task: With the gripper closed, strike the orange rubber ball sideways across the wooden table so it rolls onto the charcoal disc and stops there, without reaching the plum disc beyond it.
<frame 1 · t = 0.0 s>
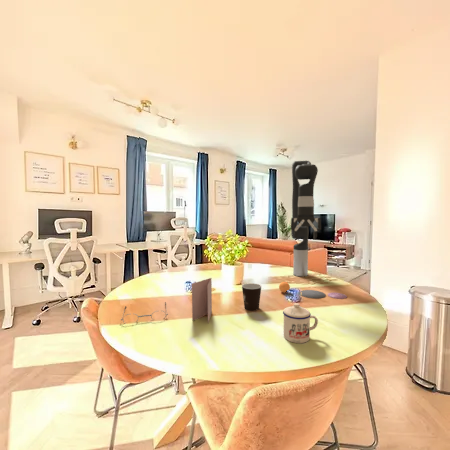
hand: (305, 238, 128), 29 cm above the table, tool pointing down, fingers open, 8 cm apart
ball: (284, 287, 137), on the table
coffee mug: (252, 307, 117), on the table
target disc: (312, 294, 134), on the table
greeting card: (207, 318, 105), on the table
teacup with lid: (300, 337, 89), on the table
eyeglasses: (145, 314, 112), on the table
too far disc: (337, 295, 131), on the table
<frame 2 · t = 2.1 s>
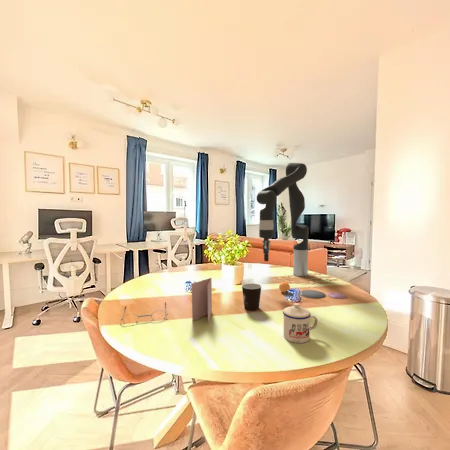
hand: (266, 260, 138), 16 cm above the table, tool pointing down, fingers closed
nothing on the table moved.
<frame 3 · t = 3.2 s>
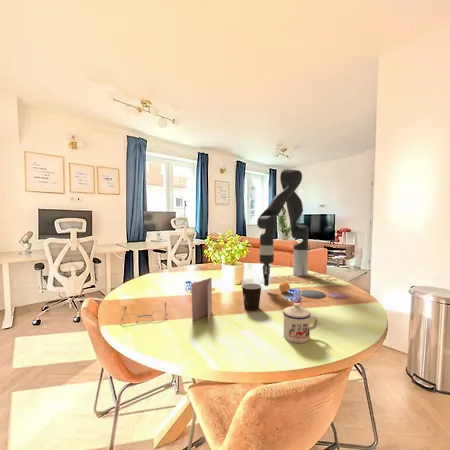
hand: (266, 285, 139), 3 cm above the table, tool pointing down, fingers closed
nothing on the table moved.
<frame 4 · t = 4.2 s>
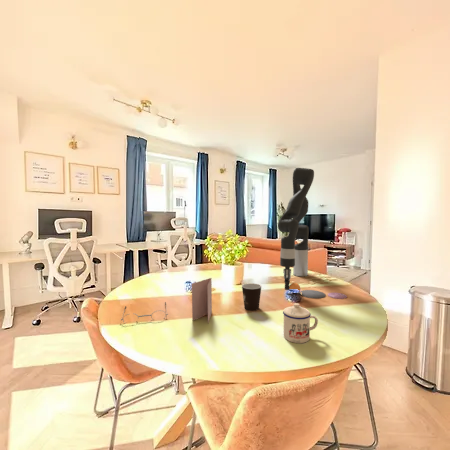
hand: (287, 289, 136), 2 cm above the table, tool pointing down, fingers closed
ball: (294, 288, 135), on the table, touching gripper
everything else where it was.
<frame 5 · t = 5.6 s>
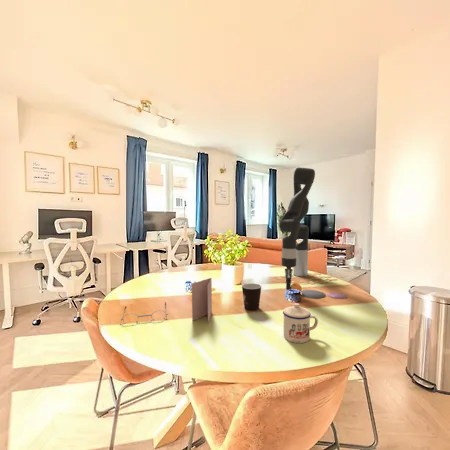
hand: (288, 289, 136), 2 cm above the table, tool pointing down, fingers closed
nothing on the table moved.
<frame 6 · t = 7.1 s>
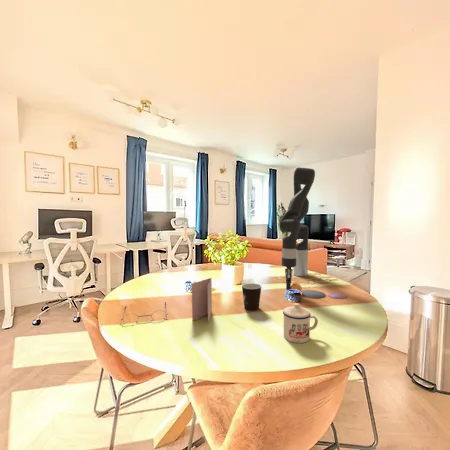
hand: (288, 289, 136), 2 cm above the table, tool pointing down, fingers closed
nothing on the table moved.
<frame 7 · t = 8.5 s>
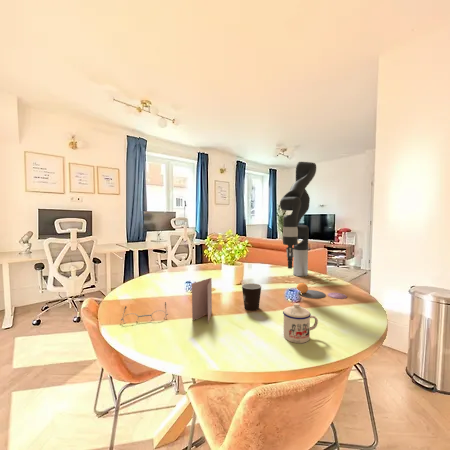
hand: (290, 268, 136), 13 cm above the table, tool pointing down, fingers closed
ball: (302, 288, 135), on the table
everything else where it was.
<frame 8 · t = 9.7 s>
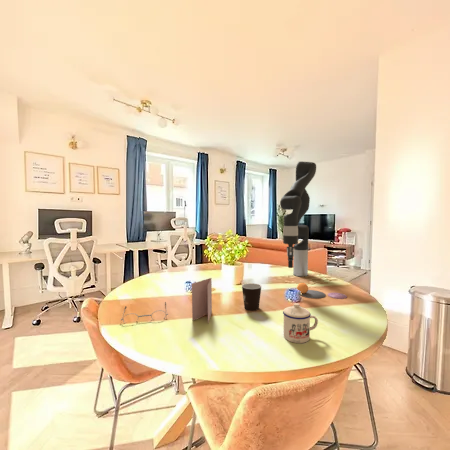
hand: (290, 267, 136), 13 cm above the table, tool pointing down, fingers closed
nothing on the table moved.
at the end: ball 4.8 cm from the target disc (horizontally); ball at rest at the end (0.0 cm/s); ball moved 9.2 cm from its start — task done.
